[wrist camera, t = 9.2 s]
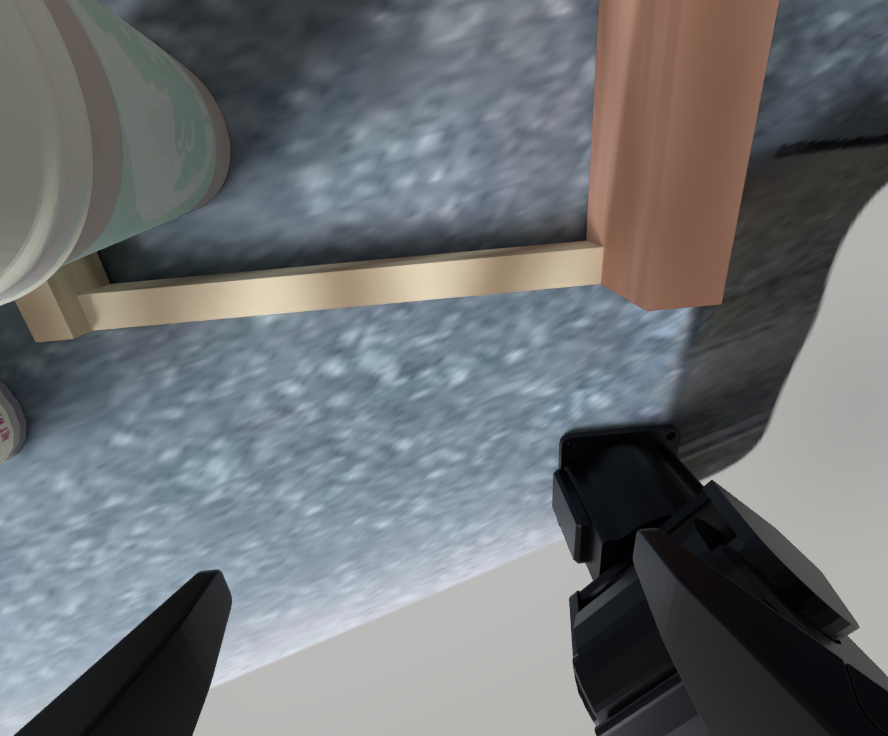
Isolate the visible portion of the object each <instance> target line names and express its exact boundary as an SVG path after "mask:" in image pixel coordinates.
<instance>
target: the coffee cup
mask: <svg viewBox="0 0 888 736" xmlns="http://www.w3.org/2000/svg"><path fill="white" fill-rule="evenodd" d="M230 155H231V151H230V139H229V134H228V129H227V126H226V122H225V120H224V117H223V115H222V112H221V110H220V108H219V106H218V104H217V103H216V101H215V99H214V97H213V96H212V94H211V93H210V92H209V90H208V89H207V88H206V86H205V85H204V84H203V83H202V82H201V81H200V80H199V78H198V77H197V76H196V75H194V74H193V73H192V72H191V71H190V70H189V69H188V68H186V67H185V66H184V65H182V64H181V63H180V62H179V61H177V60H176V59H175V58H173V57H172V56H171V55H169V54H168V53H167V52H165V51H164V50H163V49H161V48H160V47H159V46H157V45H156V44H155V43H153V42H152V41H151V40H149V39H148V38H147V37H145V36H144V35H143V34H141V33H140V32H139V31H137V30H136V29H135V28H133V27H132V26H130V25H129V24H128V23H126V22H125V21H124V20H122V19H121V18H120V17H118V16H117V15H116V14H114V13H113V12H112V11H110V10H109V9H108V8H106V7H105V6H104V5H102V4H101V3H99V2H98V1H97V0H0V305H3V304H6V303H9V302H11V301H14V300H16V299H18V298H20V297H22V296H24V295H26V294H28V293H30V292H31V291H33V290H35V289H36V288H37V287H39V286H40V285H42V284H43V283H44V282H45V281H46V280H48V279H49V278H50V277H51V276H52V275H53V274H54V273H55V272H56V271H57V270H58V269H59V268H60V266H63V265H65V264H68V263H70V262H72V261H75V260H77V259H80V258H82V257H84V256H87V255H89V254H92V253H94V252H96V251H99V250H101V249H104V248H106V247H108V246H111V245H113V244H116V243H118V242H120V241H123V240H125V239H128V238H130V237H132V236H135V235H137V234H140V233H142V232H144V231H147V230H149V229H151V228H154V227H156V226H159V225H161V224H163V223H166V222H168V221H171V220H173V219H175V218H178V217H180V216H182V215H184V214H187V213H189V212H191V211H194V210H196V209H198V208H200V207H202V206H204V205H205V204H207V203H208V202H209V201H211V200H212V199H213V198H214V197H215V196H216V195H217V193H218V192H219V191H220V189H221V188H222V186H223V184H224V182H225V180H226V177H227V174H228V170H229V165H230Z"/></svg>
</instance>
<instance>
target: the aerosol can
mask: <svg viewBox="0 0 888 736" xmlns="http://www.w3.org/2000/svg"><path fill="white" fill-rule="evenodd" d="M26 431H27V422H26V419H25V416H24V413H23V410H22V408H21V405H20V403H19V402H18V401H17V399H16V398H15V397H14V395H13V394H12V392H11V391H10V390H9V388H8V387H7V386H6V385H5V384H4V383H3V382H1V381H0V464H2V463H3V462H5V461H6V460H8V459H9V458H11V457H12V456H14V455H15V454H17V453H18V452H19V451H20V449H21V447H22V445H23V444H24V442H25V440H26Z"/></svg>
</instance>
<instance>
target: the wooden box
mask: <svg viewBox="0 0 888 736" xmlns="http://www.w3.org/2000/svg"><path fill="white" fill-rule="evenodd" d="M778 5H779V0H599V10H598V29H597V48H596V66H595V85H594V104H593V122H592V141H591V160H590V179H589V197H588V216H587V235H586V241H576V242H565V243H554V244H543V245H532V246H521V247H510V248H499V249H488V250H477V251H466V252H455V253H444V254H433V255H422V256H411V257H400V258H389V259H378V260H367V261H356V262H345V263H334V264H323V265H312V266H301V267H291V268H280V269H269V270H258V271H247V272H236V273H225V274H214V275H203V276H192V277H181V278H170V279H159V280H148V281H137V282H126V283H115V284H110V283H109V280H108V278H107V276H106V273H105V271H104V268H103V266H102V263H101V261H100V258H99V256H98V253H97V251H96V252H94V253H92V254H89V255H87V256H84V257H82V258H80V259H77V260H75V261H72V262H70V263H68V264H65V265H63V266H60V268H59V269H58V270H57V271H56V272H55V273H54V274H53V275H52V276H51V277H50V278H49V279H48V280H46V281H45V282H44V283H43V284H42V285H40V286H39V287H37V288H36V289H35V290H33V291H31V292H30V293H28V294H26V295H24V296H22V297H20V298H18V299H16V300H14V301H15V303H16V305H17V307H18V309H19V310H20V312H21V314H22V316H23V318H24V320H25V322H26V324H27V326H28V328H29V330H30V332H31V334H32V336H33V338H34V340H35V342H47V341H58V340H69V339H75V338H77V337H80V336H82V335H84V334H86V333H88V332H90V331H94V330H105V329H116V328H127V327H138V326H149V325H159V324H170V323H181V322H192V321H203V320H214V319H225V318H236V317H246V316H257V315H268V314H279V313H290V312H301V311H312V310H323V309H333V308H344V307H355V306H366V305H377V304H388V303H399V302H409V301H420V300H431V299H442V298H453V297H464V296H475V295H486V294H496V293H507V292H518V291H529V290H540V289H551V288H562V287H573V286H583V285H594V284H602V285H604V286H605V287H607V288H609V289H610V290H612V291H614V292H615V293H617V294H619V295H620V296H622V297H624V298H626V299H627V300H629V301H631V302H632V303H634V304H636V305H637V306H639V307H641V308H642V309H644V310H646V311H654V310H664V309H675V308H686V307H697V306H708V305H718V304H721V303H722V298H723V293H724V287H725V282H726V277H727V272H728V266H729V261H730V256H731V251H732V246H733V240H734V235H735V230H736V225H737V219H738V214H739V209H740V204H741V198H742V193H743V188H744V183H745V177H746V172H747V167H748V162H749V157H750V151H751V146H752V141H753V136H754V130H755V125H756V120H757V115H758V109H759V104H760V99H761V94H762V88H763V83H764V78H765V73H766V68H767V62H768V57H769V52H770V47H771V41H772V36H773V31H774V26H775V20H776V15H777V10H778Z"/></svg>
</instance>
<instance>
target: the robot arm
mask: <svg viewBox="0 0 888 736" xmlns="http://www.w3.org/2000/svg"><path fill="white" fill-rule="evenodd" d="M671 432H672V433H671ZM669 433H671V434H670V435H669V436H667V434H669ZM679 439H680V432H679V430H678V429H677V428H676V427H675V426H673V425H658V426H647V427H637V428H626V429H616V430H605V431H594V432H584V433H573V434H567V435H564V436H563V437H562V438H561V439H560V442H559V469H557V470H556V471H555V472H554V474H553V502H552V506H553V509H554V512H555V514H556V517H557V521H558V524H559V526H560V527H561V529H562V532H563V535H564V537H565V540H566V542H567V545H568V547H569V550H570V552H571V555H572V557H573V560H575V561H576V562H577V563H586V565H587V567H588V570H589V572H590V574H591V577H592V579H593V581H592V582H591V583H590V584H589V585H587V586H586V587H585V588H584V589H583V590H581V591H577V592H575V593H574V594H573V595H572V596H570V597H569V603H570V619H571V633H572V647H573V648H572V649H573V669H574V674H575V680H576V684H577V687H578V693H579V695H580V697H581V699H582V701H583V703H584V705H585V708H586V709H587V711H588V713H589V715H590V716H591V718H592V720H593V722H594V723H595V724H596V727H595V733H596V735H597V736H888V677H887V676H886V674H885V673H884V672H883V671H882V670H881V669H880V668H879V667H878V666H877V665H876V664H875V663H874V662H873V661H872V660H871V659H870V658H869V657H868V656H867V655H866V654H865V653H864V652H863V651H862V650H861V649H860V648H859V647H858V646H857V645H856V644H855V643H854V642H853V641H852V640H851V639H850V638H849V637H848V636H847V635H849V634H850V633H852V632H854V631H855V630H857V629H858V628H859V625H858V623H857V622H856V620H855V619H854V618H853V616H852V615H851V613H850V612H849V610H848V609H847V608H846V606H845V605H844V603H843V602H842V601H841V599H840V598H839V596H838V595H837V593H836V592H835V590H834V589H833V588H832V586H831V585H830V583H829V582H828V580H827V579H826V577H825V576H824V575H823V573H822V572H821V571H820V570H819V569H818V568H817V567H816V566H815V565H814V564H813V563H812V562H811V561H810V560H808V558H807V557H806V556H805V555H803V554H802V553H801V552H800V551H799V550H798V549H797V548H796V547H795V546H794V545H793V544H792V543H791V542H790V541H789V540H788V539H786V538H785V537H784V536H783V535H782V534H781V533H780V532H779V531H778V530H777V529H776V528H774V527H773V526H772V525H771V524H769V523H768V522H767V521H765V520H764V519H763V518H762V517H760V516H759V515H758V514H756V513H755V512H753V511H752V510H751V509H750V508H749V507H747V506H746V505H744V504H743V503H742V502H741V501H739V500H738V499H737V498H735V497H734V496H733V495H731V494H730V493H729V492H727V491H726V490H725V489H723V488H722V487H721V486H720V485H718V484H717V483H716V482H714V481H713V480H711V481H710V482H709V483H707V484H706V485H705V486H703V485H702V484H701V483H700V482H699V481H698V480H697V479H696V477H695V476H694V475H693V474H692V473H691V472H690V471H689V470H688V469H687V468H686V466H685V465H684V464H683V463H682V462H681V461H680V460H679V459H678V458H677V451H678V445H679ZM569 442H573V443H572V444H571V445H567V443H569ZM231 606H232V596H231V593H230V590H229V588H228V585H227V583H226V581H225V578H224V576H223V573H222V572H221V571H220V570H207V571H201V572H199V573H197V574H196V575H194V576H193V577H192V578H191V579H190V580H189V581H188V582H187V583H185V584H184V585H183V586H182V587H181V588H180V589H179V590H177V591H176V592H175V593H174V594H173V595H172V596H171V597H170V598H168V599H167V600H166V601H165V602H164V603H163V604H162V605H161V606H159V607H158V608H157V609H156V610H155V611H154V612H153V613H152V614H150V615H149V616H148V617H147V618H146V619H145V620H144V621H142V622H141V623H140V624H139V625H138V626H137V627H136V628H135V629H133V630H132V631H131V632H130V633H129V634H128V635H127V636H126V637H124V638H123V639H122V640H121V641H120V642H119V643H118V644H116V645H115V646H114V647H113V648H112V649H111V650H110V651H109V652H107V653H106V654H105V655H104V656H103V657H102V658H101V659H100V660H98V661H97V662H96V663H95V664H94V665H93V666H92V667H91V668H89V669H88V670H87V671H86V672H85V673H84V674H83V675H81V676H80V677H79V678H78V679H77V680H76V681H75V682H74V683H72V684H71V685H70V686H69V687H68V688H67V689H66V690H65V691H63V692H62V693H61V694H60V695H59V696H58V697H57V698H55V699H54V700H53V701H52V702H51V703H50V704H49V705H48V706H46V707H45V708H44V709H43V710H42V711H41V712H40V713H39V714H37V715H36V716H35V717H34V718H33V719H32V720H31V721H30V722H28V723H27V724H26V725H25V726H24V727H23V728H22V729H20V730H19V731H18V732H17V733H16V734H15V735H14V736H192V735H193V732H194V730H195V727H196V724H197V721H198V719H199V716H200V713H201V710H202V707H203V704H204V702H205V699H206V696H207V693H208V691H209V688H210V685H211V681H212V678H213V674H214V671H215V667H216V663H217V659H218V656H219V652H220V648H221V644H222V640H223V637H224V633H225V629H226V625H227V622H228V618H229V614H230V610H231Z"/></svg>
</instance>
